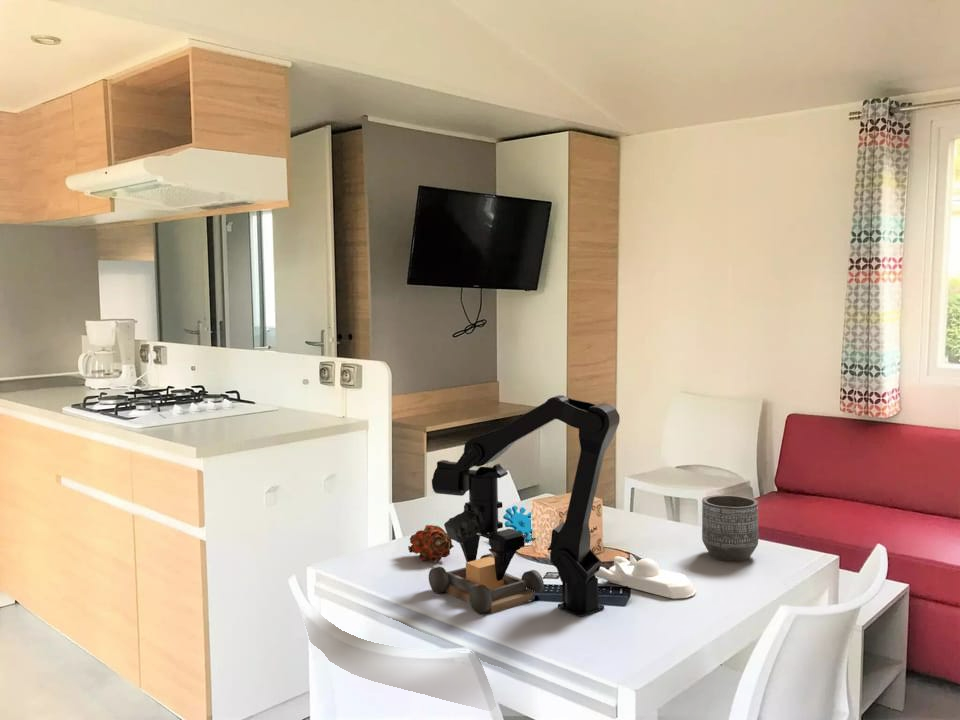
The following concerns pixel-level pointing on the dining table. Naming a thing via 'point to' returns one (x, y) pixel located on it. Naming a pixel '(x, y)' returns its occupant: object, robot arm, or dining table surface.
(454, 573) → the chassis
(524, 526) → the gear
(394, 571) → the dining table surface
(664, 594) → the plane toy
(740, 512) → the planter
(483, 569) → the light orange rectangular block
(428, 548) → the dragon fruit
